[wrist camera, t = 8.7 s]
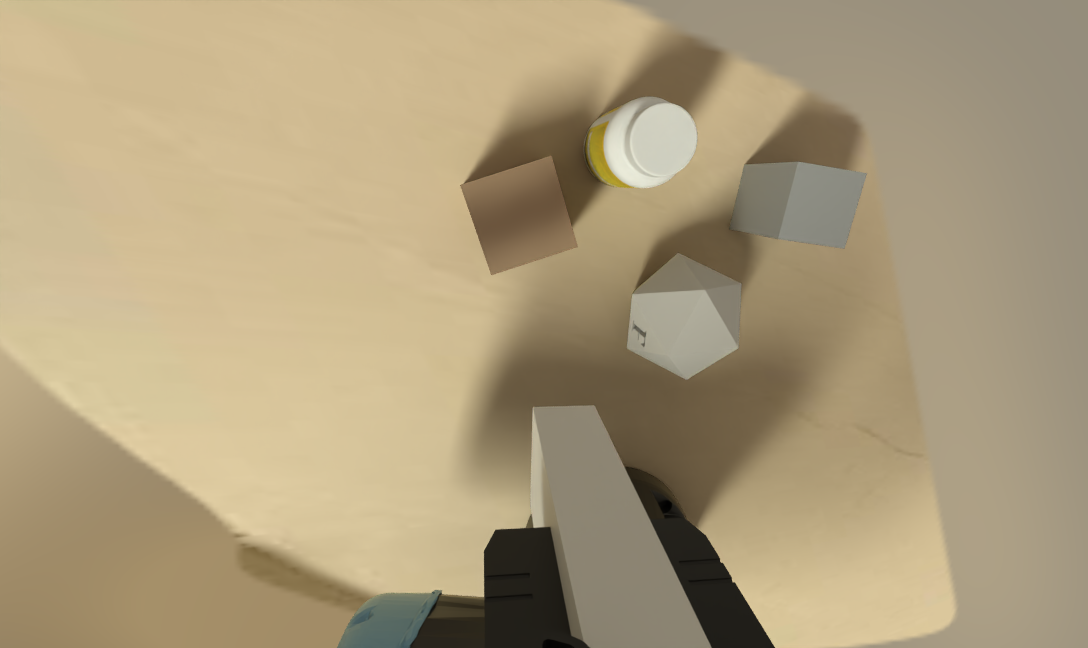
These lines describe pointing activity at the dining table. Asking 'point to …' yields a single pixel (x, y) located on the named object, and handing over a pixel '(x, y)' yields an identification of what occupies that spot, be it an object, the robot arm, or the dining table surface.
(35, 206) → the dining table surface
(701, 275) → the die
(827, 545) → the dining table surface
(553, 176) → the walnut block
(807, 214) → the grey block
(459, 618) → the robot arm
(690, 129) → the supplement bottle
